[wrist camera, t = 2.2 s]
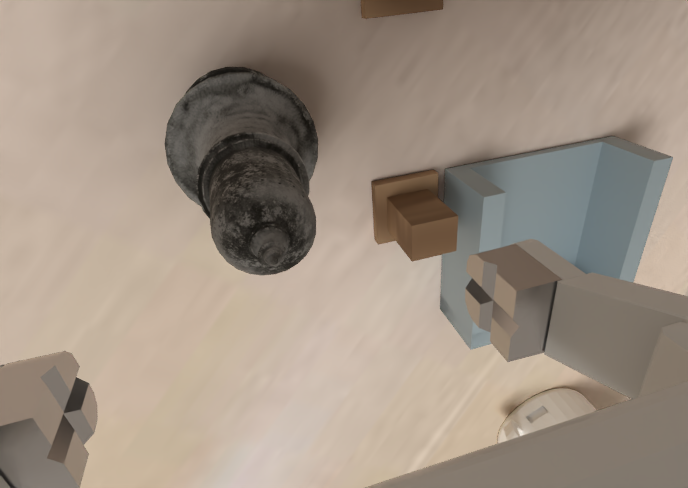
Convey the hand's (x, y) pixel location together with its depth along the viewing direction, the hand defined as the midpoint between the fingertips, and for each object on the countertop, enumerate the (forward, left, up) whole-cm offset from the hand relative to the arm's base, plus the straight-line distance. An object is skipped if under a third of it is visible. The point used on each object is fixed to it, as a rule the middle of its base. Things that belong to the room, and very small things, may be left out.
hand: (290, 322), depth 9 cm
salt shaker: (-1, 0, -14) cm, 14 cm away
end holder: (+8, +16, -14) cm, 23 cm away
